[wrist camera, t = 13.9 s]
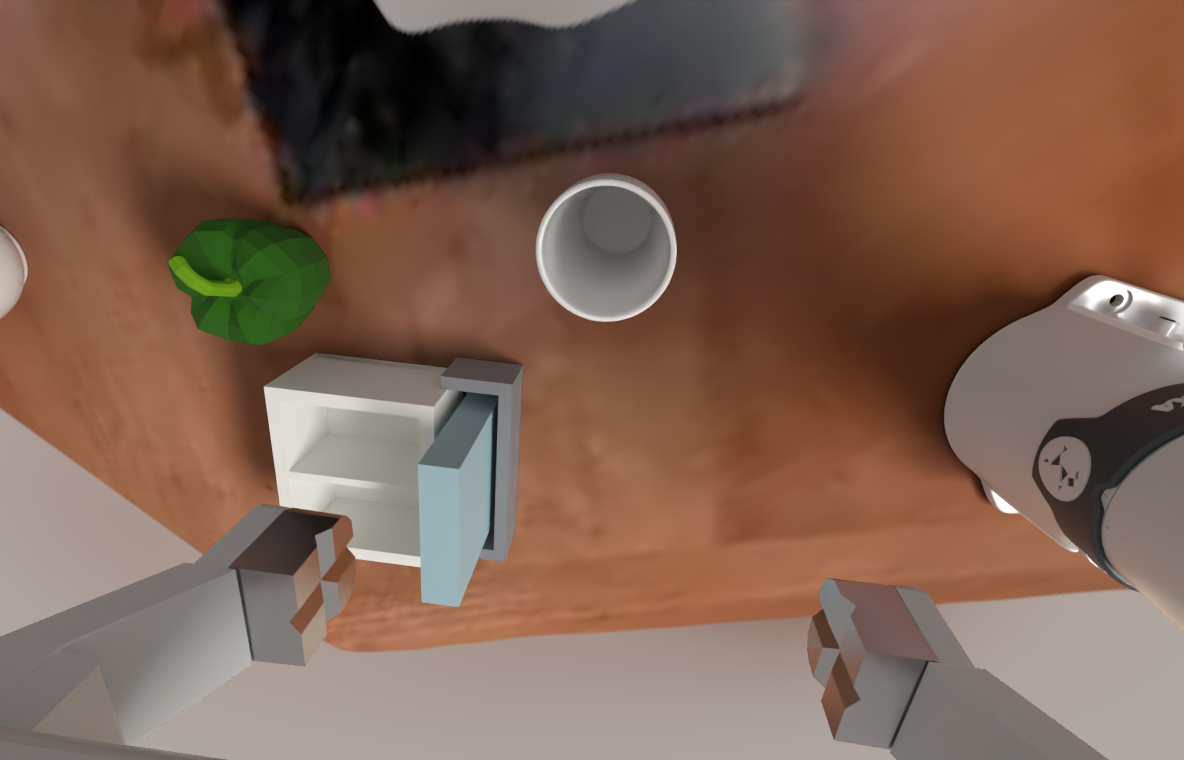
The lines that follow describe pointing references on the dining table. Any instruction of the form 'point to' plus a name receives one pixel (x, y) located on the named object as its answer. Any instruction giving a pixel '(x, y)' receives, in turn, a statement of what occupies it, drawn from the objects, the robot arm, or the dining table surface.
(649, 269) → the drinking glass
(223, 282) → the bell pepper
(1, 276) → the lidded jar
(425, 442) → the cabinet
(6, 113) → the dining table surface
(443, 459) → the door
